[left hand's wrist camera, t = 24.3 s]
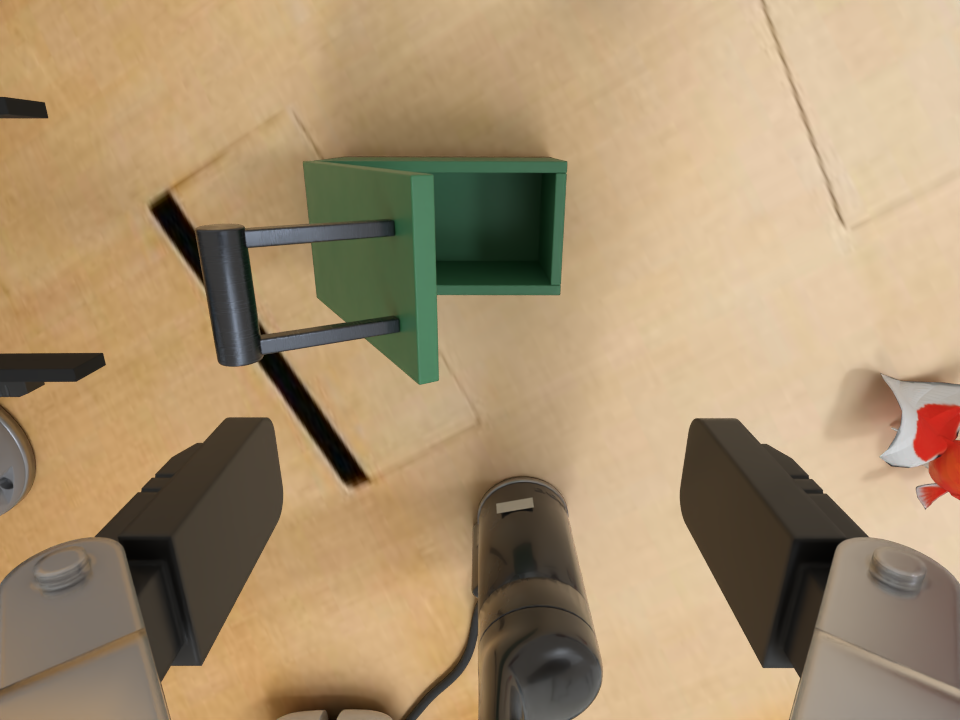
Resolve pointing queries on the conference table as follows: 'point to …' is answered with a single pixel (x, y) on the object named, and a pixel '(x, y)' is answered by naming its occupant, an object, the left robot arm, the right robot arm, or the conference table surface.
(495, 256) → the chest
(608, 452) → the conference table surface
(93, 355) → the right robot arm
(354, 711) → the white rounded housing
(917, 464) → the fish
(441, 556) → the conference table surface
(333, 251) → the lid
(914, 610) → the left robot arm
